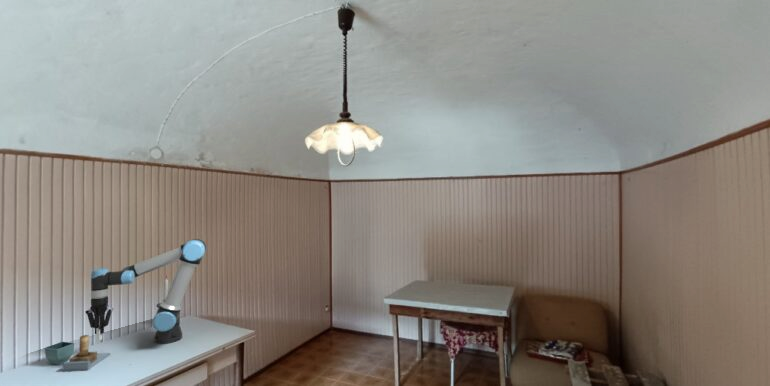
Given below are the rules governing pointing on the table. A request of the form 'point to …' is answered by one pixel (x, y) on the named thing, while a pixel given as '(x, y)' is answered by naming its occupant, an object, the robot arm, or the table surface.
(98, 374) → the table surface
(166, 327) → the robot arm
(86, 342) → the dowel
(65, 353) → the flower pot
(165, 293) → the candlestick
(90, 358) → the block
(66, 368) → the board
